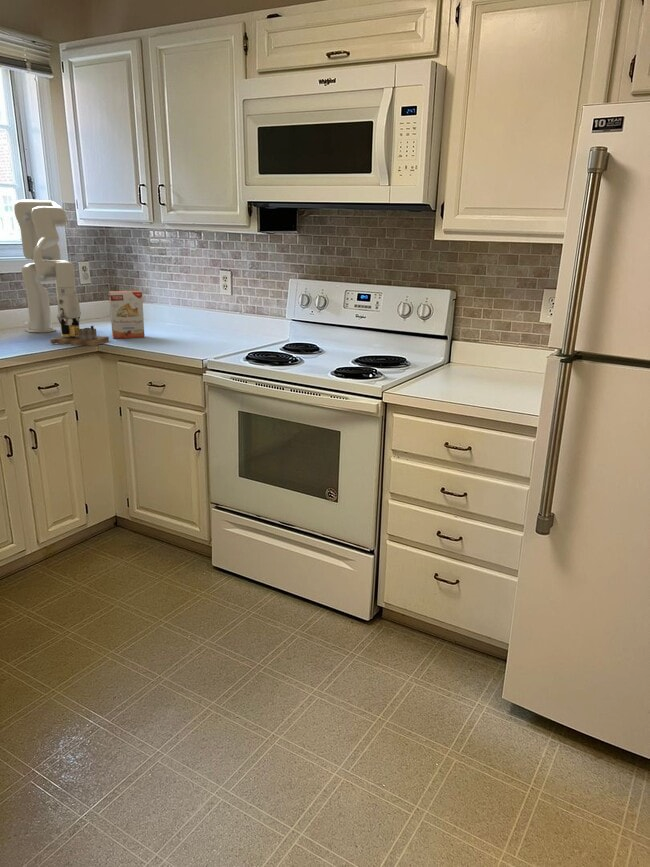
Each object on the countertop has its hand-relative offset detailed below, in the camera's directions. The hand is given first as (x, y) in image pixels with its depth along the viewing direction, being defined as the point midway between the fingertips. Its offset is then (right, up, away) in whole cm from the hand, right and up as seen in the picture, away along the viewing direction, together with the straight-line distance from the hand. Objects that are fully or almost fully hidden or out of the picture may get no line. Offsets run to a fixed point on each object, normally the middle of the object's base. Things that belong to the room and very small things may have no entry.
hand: (71, 332), depth 281 cm
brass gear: (0, -1, 0) cm, 1 cm away
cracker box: (+20, 0, +16) cm, 26 cm away
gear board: (+4, -4, 0) cm, 6 cm away
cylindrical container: (-7, +1, +16) cm, 18 cm away
